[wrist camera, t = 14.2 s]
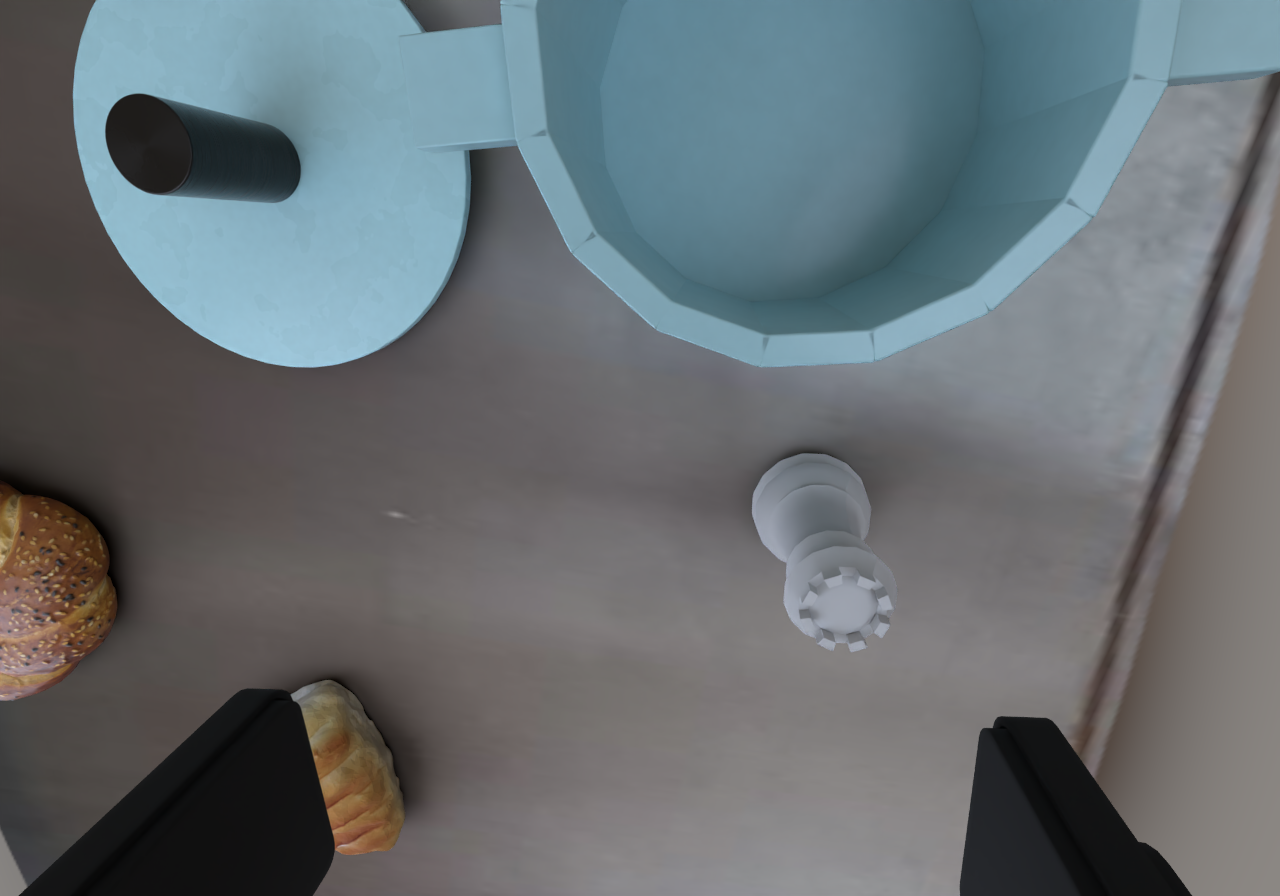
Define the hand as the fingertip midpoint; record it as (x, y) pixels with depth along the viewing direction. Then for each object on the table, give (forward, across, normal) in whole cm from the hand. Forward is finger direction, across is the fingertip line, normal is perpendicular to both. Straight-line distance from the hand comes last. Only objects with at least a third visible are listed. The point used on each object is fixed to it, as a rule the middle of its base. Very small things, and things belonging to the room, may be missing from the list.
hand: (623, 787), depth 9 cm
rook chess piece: (+18, -5, +3) cm, 18 cm away
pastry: (+18, +18, +16) cm, 30 cm away
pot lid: (+16, +14, -11) cm, 24 cm away
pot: (+17, -4, -11) cm, 21 cm away
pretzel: (+17, +32, +6) cm, 37 cm away
